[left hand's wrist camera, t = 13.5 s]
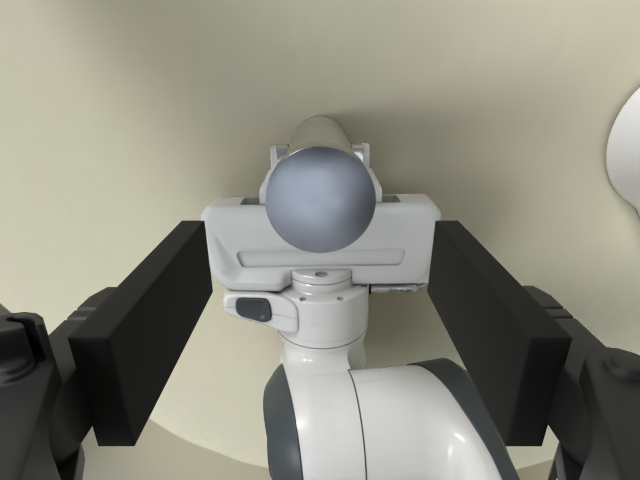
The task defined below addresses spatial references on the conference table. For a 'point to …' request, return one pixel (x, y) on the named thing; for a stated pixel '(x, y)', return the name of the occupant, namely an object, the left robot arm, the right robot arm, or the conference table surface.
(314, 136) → the thermos bottle
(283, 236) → the lid
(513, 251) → the conference table surface
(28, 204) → the conference table surface
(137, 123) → the conference table surface
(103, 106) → the conference table surface
